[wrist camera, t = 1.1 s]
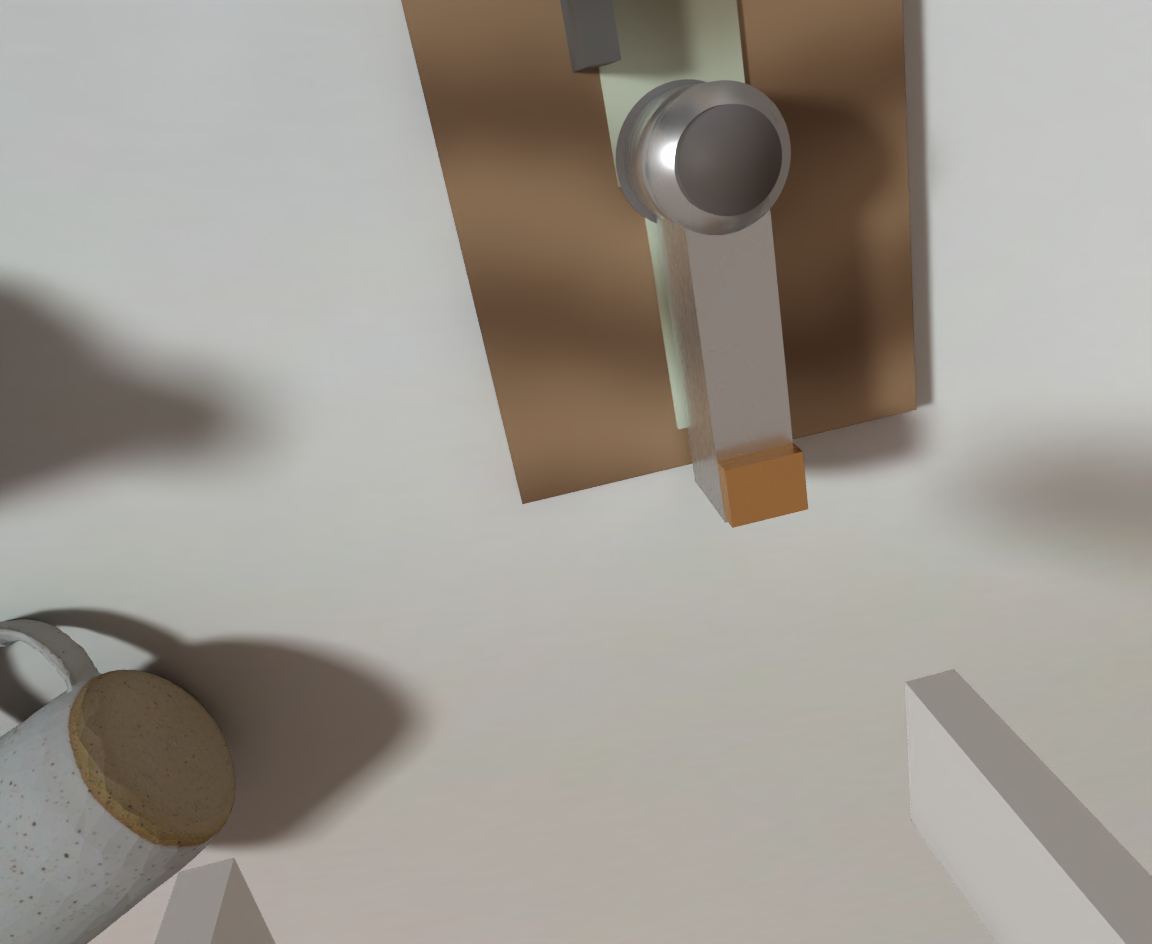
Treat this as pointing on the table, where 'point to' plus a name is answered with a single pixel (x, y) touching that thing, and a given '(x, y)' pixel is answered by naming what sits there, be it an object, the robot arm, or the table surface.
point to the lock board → (629, 231)
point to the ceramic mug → (101, 794)
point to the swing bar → (722, 314)
